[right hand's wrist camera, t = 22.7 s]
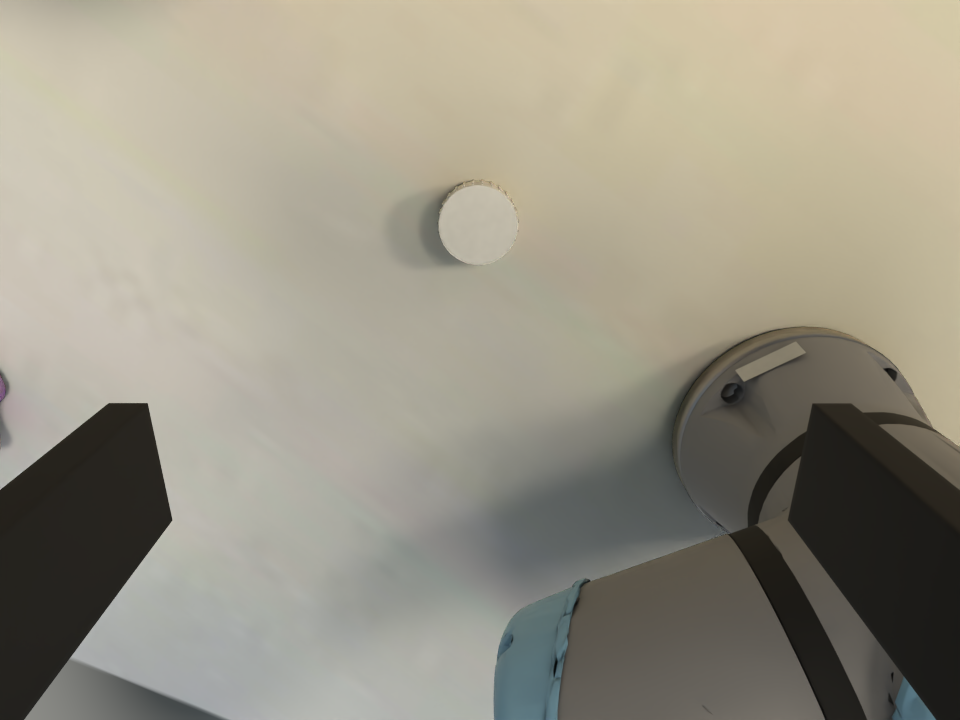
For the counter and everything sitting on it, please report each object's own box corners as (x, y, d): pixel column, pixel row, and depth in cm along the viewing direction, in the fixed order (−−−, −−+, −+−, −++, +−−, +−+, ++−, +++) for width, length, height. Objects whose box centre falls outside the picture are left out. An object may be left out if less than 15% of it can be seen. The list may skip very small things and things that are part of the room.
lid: (438, 255, 39) (436, 265, 37) (440, 177, 37) (437, 181, 35) (514, 259, 39) (516, 268, 37) (519, 180, 37) (522, 185, 35)
